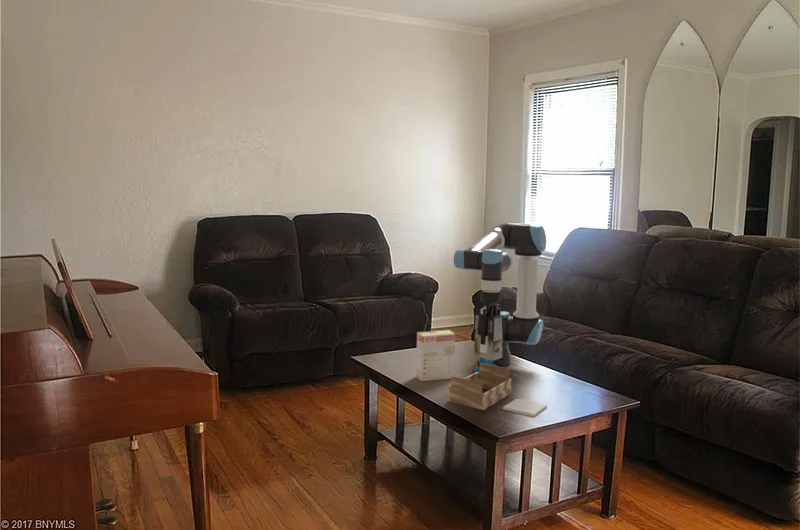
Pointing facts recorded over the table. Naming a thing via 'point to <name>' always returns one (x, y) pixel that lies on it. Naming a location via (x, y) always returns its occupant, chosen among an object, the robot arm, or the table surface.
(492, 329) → the coffee box
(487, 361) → the gemstone
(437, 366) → the coffeecake box
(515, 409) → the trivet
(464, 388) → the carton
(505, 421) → the table surface
